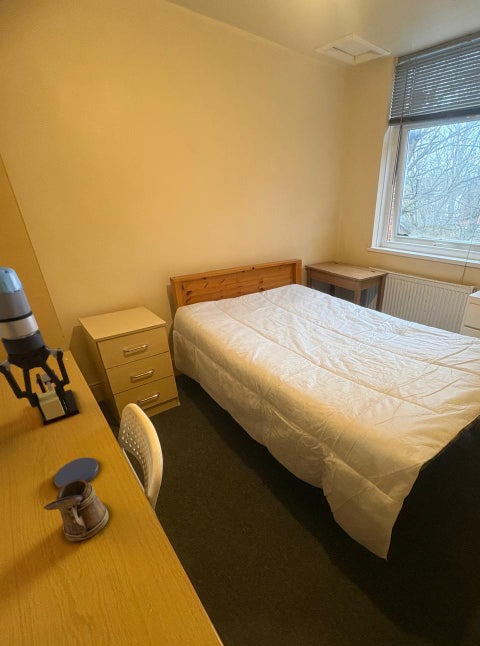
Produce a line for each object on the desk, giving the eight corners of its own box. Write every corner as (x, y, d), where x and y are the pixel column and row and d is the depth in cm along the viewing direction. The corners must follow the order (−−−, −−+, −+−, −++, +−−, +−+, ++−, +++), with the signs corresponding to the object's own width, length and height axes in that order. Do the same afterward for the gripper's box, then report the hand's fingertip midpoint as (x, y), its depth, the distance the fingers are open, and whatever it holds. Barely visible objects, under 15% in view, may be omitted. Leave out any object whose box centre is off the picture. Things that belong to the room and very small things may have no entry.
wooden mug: (59, 568, 66) (25, 511, 57) (67, 515, 76) (39, 460, 68) (108, 549, 69) (83, 492, 61) (109, 500, 80) (88, 446, 72)
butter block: (46, 420, 85) (40, 405, 82) (44, 409, 89) (37, 394, 86) (64, 414, 87) (58, 399, 85) (61, 404, 91) (55, 389, 89)
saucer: (46, 489, 83) (44, 486, 82) (71, 460, 91) (69, 457, 91) (85, 490, 83) (83, 487, 82) (105, 460, 91) (104, 457, 91)
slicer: (79, 413, 110) (66, 379, 104) (44, 425, 104) (28, 390, 98) (72, 392, 121) (60, 360, 115) (39, 402, 115) (25, 369, 109)
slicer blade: (71, 414, 105) (70, 411, 103) (49, 421, 102) (47, 418, 100) (57, 374, 110) (56, 370, 108) (36, 380, 107) (34, 376, 105)
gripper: (60, 320, 84) (86, 393, 95) (-28, 338, 74) (13, 417, 85) (64, 329, 79) (92, 405, 90) (-29, 349, 69) (15, 432, 80)
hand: (54, 411), depth 88 cm, fingers closed on butter block, 4 cm apart
